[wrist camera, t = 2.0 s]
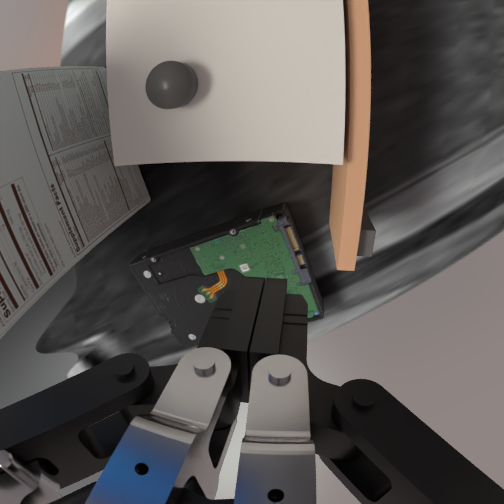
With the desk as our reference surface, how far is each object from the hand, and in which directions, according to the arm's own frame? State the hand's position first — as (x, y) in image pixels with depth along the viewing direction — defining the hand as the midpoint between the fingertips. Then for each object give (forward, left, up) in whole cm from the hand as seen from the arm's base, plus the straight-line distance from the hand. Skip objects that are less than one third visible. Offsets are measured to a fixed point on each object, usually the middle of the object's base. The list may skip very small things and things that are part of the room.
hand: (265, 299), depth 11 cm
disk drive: (+9, -5, -15) cm, 18 cm away
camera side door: (-9, +4, -13) cm, 16 cm away
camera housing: (-12, -3, -14) cm, 18 cm away
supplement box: (-3, -21, -14) cm, 25 cm away
